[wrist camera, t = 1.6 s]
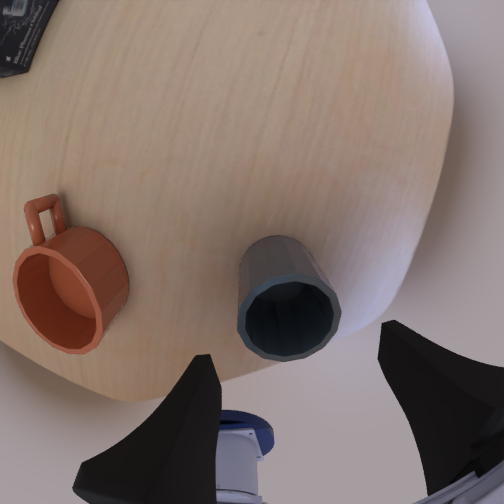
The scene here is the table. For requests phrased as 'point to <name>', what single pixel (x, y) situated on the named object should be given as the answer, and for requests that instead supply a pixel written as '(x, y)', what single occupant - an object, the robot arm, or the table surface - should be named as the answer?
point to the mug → (68, 281)
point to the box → (21, 32)
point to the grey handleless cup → (284, 301)
